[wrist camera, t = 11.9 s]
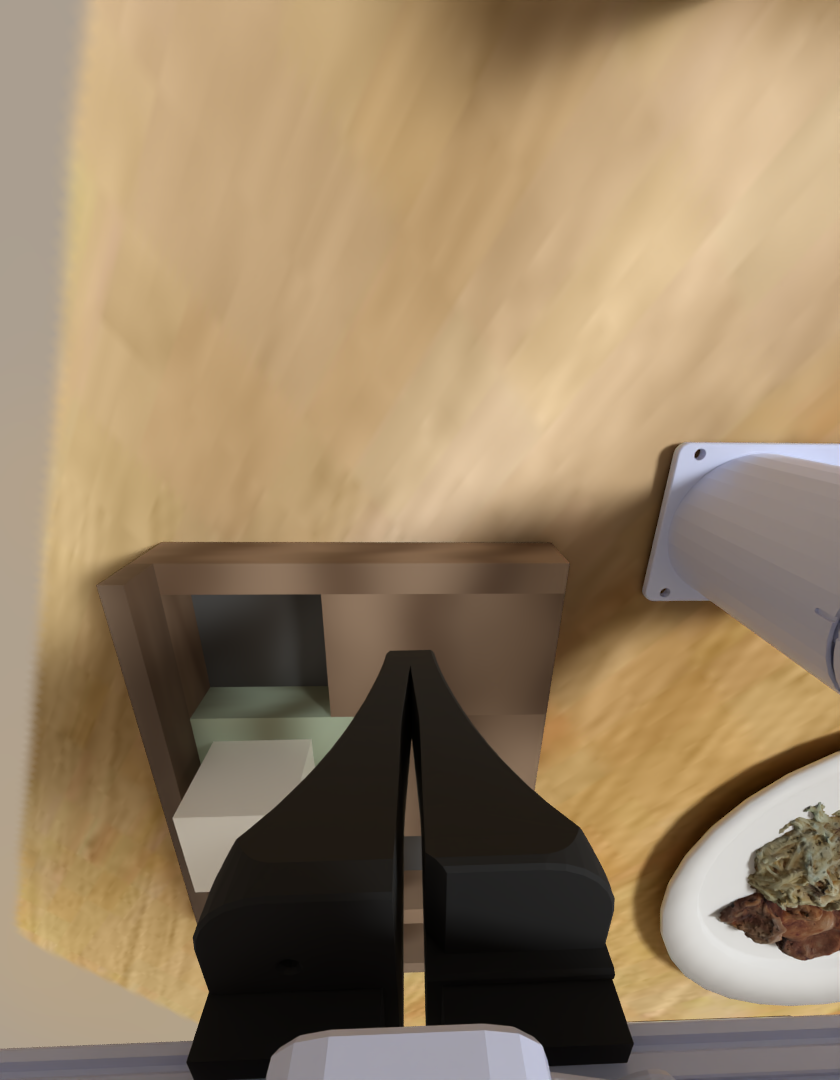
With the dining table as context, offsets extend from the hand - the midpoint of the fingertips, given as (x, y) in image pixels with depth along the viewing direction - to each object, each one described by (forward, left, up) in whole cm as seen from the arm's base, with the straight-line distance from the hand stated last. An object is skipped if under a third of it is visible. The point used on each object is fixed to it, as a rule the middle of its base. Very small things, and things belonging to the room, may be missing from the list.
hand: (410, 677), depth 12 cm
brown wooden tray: (+2, +13, -9) cm, 16 cm away
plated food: (-33, +25, -10) cm, 43 cm away
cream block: (+8, +12, -6) cm, 15 cm away
